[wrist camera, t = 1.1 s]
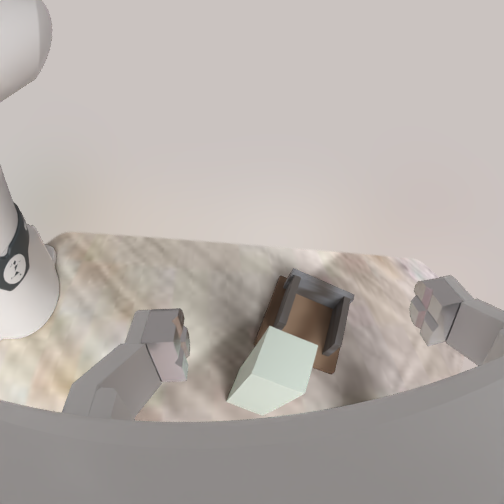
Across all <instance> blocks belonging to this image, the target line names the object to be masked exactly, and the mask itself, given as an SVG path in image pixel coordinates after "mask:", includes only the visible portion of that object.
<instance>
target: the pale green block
mask: <svg viewBox="0 0 504 504" xmlns="http://www.w3.org/2000/svg"><path fill="white" fill-rule="evenodd" d="M317 348H318V345H316V344H314V343H311V342H308V341H306V340H303V339H301V338H298V337H296V336H293V335H291V334H289V333H286V332H284V331H281V330H279V329H276V328H274V327H272V326H269V327H268V329H267V330H266V332H265V333H264V335H263V336H262V338H261V339H260V340H259V342H258V343H257V345H256V346H255V348H254V349H253V351H252V352H251V353H250V355H249V356H248V358H247V359H246V360H245V362H244V363H243V365H242V366H241V368H240V369H239V372H238V374H237V377H236V379H235V382H234V384H233V387H232V389H231V391H230V394H229V396H228V399H227V401H226V402H229V403H231V404H233V405H236V406H239V407H241V408H244V409H246V410H249V411H252V412H254V413H257V414H260V415H262V416H263V415H265V414H267V413H269V412H271V411H273V410H275V409H277V408H279V407H281V406H283V405H285V404H286V403H288V402H290V401H292V400H294V399H296V398H298V397H299V396H301V395H303V394H305V391H306V388H307V384H308V381H309V377H310V374H311V370H312V367H313V363H314V359H315V356H316V352H317Z"/></svg>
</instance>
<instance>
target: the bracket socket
mask: <svg viewBox="0 0 504 504" xmlns="http://www.w3.org/2000/svg"><path fill="white" fill-rule="evenodd" d="M353 300H354V294H351V293H349V292H347V291H345V290H342V289H340V288H338V287H335V286H333V285H331V284H328V283H326V282H324V281H322V280H319V279H317V278H315V277H312V276H310V275H308V274H305V273H303V272H301V271H299V270H296V269H294V268H293V270H292V271H291V273H290V275H289V276H288V278H285V277H283V276H280V277H279V279H278V282H277V285H276V287H275V290H274V293H273V295H272V298H271V301H270V303H269V306H268V308H267V311H266V314H265V316H264V319H263V322H262V324H261V327H260V329H259V332H258V334H257V337H256V340H255V342H254V345H257V343H258V342H259V340H260V339H261V338H262V336H263V335H264V333H265V332H266V330H267V329H268V327H269V326H272V327H274V328H276V329H279V330H281V331H284V332H286V333H289V334H291V335H293V336H296V337H298V338H301V339H303V340H306V341H308V342H311V343H314V344H316V345H318V348H317V352H316V356H315V359H314V363H313V367H312V368H315V369H318V370H321V371H323V372H326V373H329V374H333V373H334V372H335V368H336V363H337V359H338V355H339V350H340V347H341V345H342V340H343V335H344V331H345V326H346V320H347V315H348V310H349V304H350V303H351V302H352V301H353Z"/></svg>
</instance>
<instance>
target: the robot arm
mask: <svg viewBox="0 0 504 504" xmlns="http://www.w3.org/2000/svg"><path fill="white" fill-rule="evenodd" d="M51 41H52V23H51V18H50V14H49V12H48V9H47V8H46V6H45V4H44V3H43V2H42V0H0V102H2V101H3V100H4V99H6V98H7V97H9V96H11V95H12V94H14V93H15V92H17V91H18V90H19V89H21V88H23V87H24V86H26V85H27V84H29V83H30V82H32V81H33V80H35V79H36V77H37V76H38V74H39V73H40V71H41V69H42V67H43V66H44V63H45V61H46V59H47V56H48V53H49V50H50V46H51ZM55 263H56V251H55V250H54V248H53V247H52V246H49V245H46V244H44V243H43V241H42V239H41V237H40V235H39V234H38V232H37V230H36V228H35V227H34V226H33V225H31V226H30V225H29V224H26V222H25V219H24V217H23V215H22V213H21V212H20V210H19V208H18V206H17V205H16V204H15V203H14V202H13V200H12V198H11V195H10V192H9V189H8V186H7V184H6V181H5V178H4V175H3V172H2V169H1V166H0V340H2V339H17V338H22V337H26V336H28V335H30V334H32V333H34V332H36V331H37V330H38V329H40V328H41V327H42V326H43V325H44V324H45V323H46V322H47V320H48V319H49V318H50V316H51V315H52V313H53V311H54V309H55V307H56V304H57V301H58V297H59V279H58V276H57V273H56V269H55ZM414 293H415V295H416V296H415V297H414V298H413V299H412V301H411V304H410V308H409V310H410V317H411V320H412V322H413V324H414V325H415V326H416V327H418V328H420V329H421V330H420V335H421V336H422V338H423V340H424V341H425V343H426V344H427V346H430V345H434V344H438V343H442V342H446V343H447V344H448V345H450V346H451V347H453V348H454V349H455V350H457V351H458V352H460V353H461V354H462V355H464V356H465V357H467V358H468V359H469V360H471V361H472V362H474V363H475V364H476V365H478V367H475V368H472V369H470V370H467V371H465V372H462V373H459V374H457V375H454V376H451V377H448V378H445V379H442V380H440V381H437V382H434V383H430V384H427V385H424V386H421V387H418V388H414V389H411V390H408V391H404V392H401V393H397V394H393V395H389V396H386V397H382V398H378V399H373V400H369V401H365V402H360V403H356V404H351V405H346V406H341V407H336V408H331V409H325V410H319V411H313V412H307V413H300V414H293V415H285V416H277V417H268V418H258V419H246V420H232V421H212V422H152V421H135V419H134V418H135V416H136V415H137V414H138V413H139V411H140V410H141V409H142V408H143V406H144V405H145V404H146V403H147V401H148V400H149V399H150V398H151V396H152V395H153V394H154V393H155V391H156V390H157V389H158V388H159V386H160V385H161V384H162V383H161V382H177V381H187V373H188V363H187V360H186V358H187V357H188V356H189V354H190V340H189V334H188V330H187V328H186V327H185V326H184V325H183V324H184V315H183V312H182V310H181V309H180V308H179V309H154V310H138V311H136V312H135V315H134V317H133V320H132V323H131V326H130V329H129V332H128V335H127V338H126V341H125V344H120V345H119V346H117V347H116V348H115V349H114V350H113V351H111V352H110V353H109V354H108V355H107V356H105V357H104V358H103V359H102V360H101V361H99V362H98V363H97V364H96V365H94V366H93V367H92V368H91V369H90V370H88V371H87V372H86V373H85V374H84V375H82V376H81V377H80V378H79V379H78V380H76V381H75V382H74V383H73V384H72V386H71V389H70V391H69V394H68V397H67V399H66V402H65V405H64V408H63V411H62V413H61V412H55V411H49V410H44V409H38V408H33V407H29V406H24V405H20V404H15V403H11V402H7V401H3V400H0V504H504V311H503V310H501V309H499V308H497V307H494V306H492V305H490V304H488V303H486V302H484V301H481V300H479V299H474V298H473V297H472V296H471V295H470V294H469V293H468V292H467V291H466V290H465V289H464V287H463V286H462V285H461V284H460V283H459V282H458V281H457V280H456V279H455V278H454V277H453V276H450V275H449V276H443V277H439V278H435V279H429V280H424V281H418V282H417V284H416V285H415V288H414Z"/></svg>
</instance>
